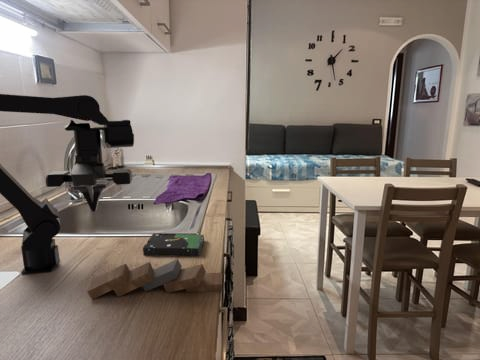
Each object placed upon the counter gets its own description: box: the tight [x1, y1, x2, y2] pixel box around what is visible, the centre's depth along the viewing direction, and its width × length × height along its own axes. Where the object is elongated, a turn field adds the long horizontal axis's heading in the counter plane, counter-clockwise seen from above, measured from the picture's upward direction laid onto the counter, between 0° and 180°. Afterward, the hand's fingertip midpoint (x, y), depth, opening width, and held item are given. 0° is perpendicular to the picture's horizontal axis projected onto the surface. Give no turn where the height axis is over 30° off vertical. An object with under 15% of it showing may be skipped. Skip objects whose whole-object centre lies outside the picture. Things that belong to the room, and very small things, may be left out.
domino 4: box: [162, 264, 207, 294], centre depth 71 cm, size 2×5×8 cm
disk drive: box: [142, 232, 205, 257], centre depth 92 cm, size 10×3×15 cm
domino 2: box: [112, 261, 155, 298], centre depth 70 cm, size 2×5×8 cm
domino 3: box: [141, 258, 183, 292], centre depth 72 cm, size 2×5×8 cm
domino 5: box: [185, 272, 223, 292], centre depth 73 cm, size 2×5×8 cm
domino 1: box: [87, 263, 131, 300], centre depth 70 cm, size 2×5×8 cm
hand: (94, 211), depth 84 cm, fingers closed
